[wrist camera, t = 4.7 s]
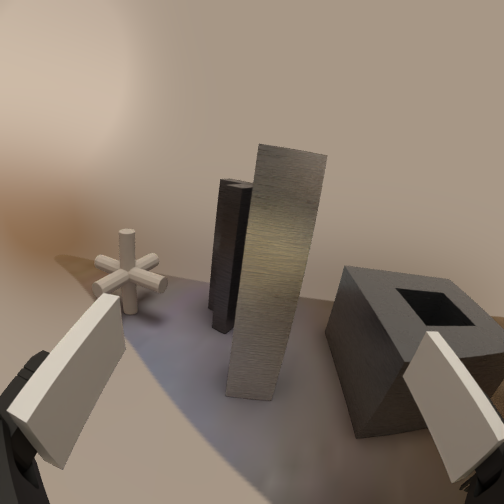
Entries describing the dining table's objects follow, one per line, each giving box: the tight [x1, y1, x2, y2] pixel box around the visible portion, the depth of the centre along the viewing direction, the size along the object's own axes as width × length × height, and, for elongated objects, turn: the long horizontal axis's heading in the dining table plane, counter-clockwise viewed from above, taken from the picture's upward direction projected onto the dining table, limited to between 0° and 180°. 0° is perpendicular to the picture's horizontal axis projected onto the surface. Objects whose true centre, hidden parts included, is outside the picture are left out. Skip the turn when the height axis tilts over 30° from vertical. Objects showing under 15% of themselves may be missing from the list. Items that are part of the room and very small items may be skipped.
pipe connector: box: [92, 229, 168, 315], centre depth 30 cm, size 10×10×10 cm
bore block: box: [325, 266, 504, 438], centre depth 25 cm, size 16×16×9 cm
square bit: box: [225, 144, 327, 401], centre depth 21 cm, size 4×4×20 cm
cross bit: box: [208, 179, 253, 334], centre depth 32 cm, size 8×8×16 cm
